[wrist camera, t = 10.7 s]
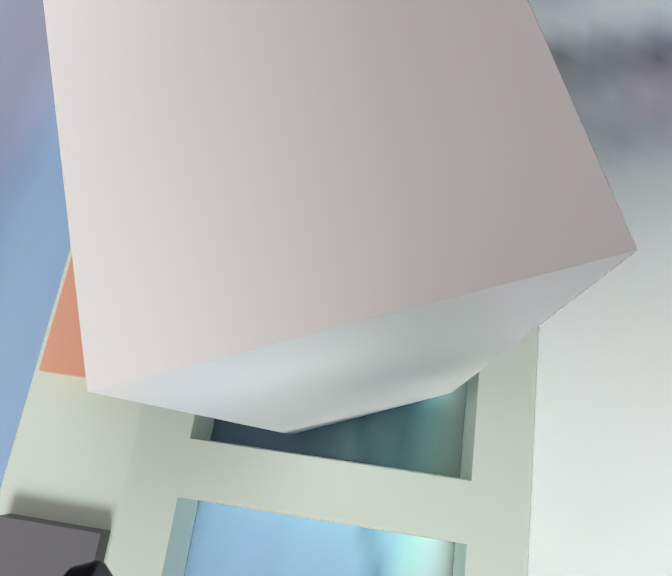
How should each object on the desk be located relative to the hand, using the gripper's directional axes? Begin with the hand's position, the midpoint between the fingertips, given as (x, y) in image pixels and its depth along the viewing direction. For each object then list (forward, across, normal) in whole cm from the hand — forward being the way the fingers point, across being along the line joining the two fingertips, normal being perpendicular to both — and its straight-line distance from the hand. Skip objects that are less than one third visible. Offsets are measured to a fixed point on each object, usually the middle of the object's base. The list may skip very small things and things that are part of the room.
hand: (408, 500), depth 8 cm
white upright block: (+9, 0, +3) cm, 10 cm away
